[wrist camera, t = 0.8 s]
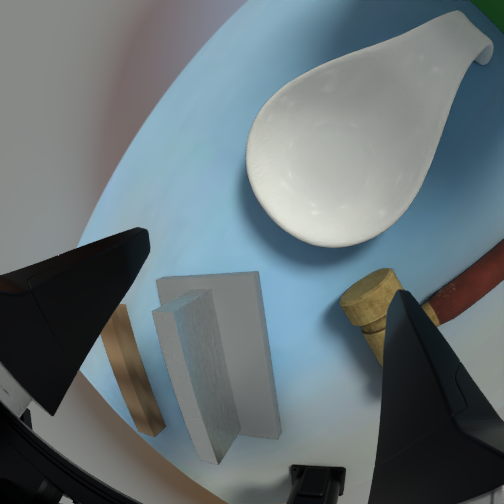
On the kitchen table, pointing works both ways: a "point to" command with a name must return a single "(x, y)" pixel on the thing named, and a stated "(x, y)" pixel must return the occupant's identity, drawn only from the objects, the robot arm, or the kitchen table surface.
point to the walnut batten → (131, 373)
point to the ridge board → (239, 344)
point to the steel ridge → (199, 371)
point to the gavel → (437, 308)
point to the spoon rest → (360, 133)
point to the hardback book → (492, 11)
